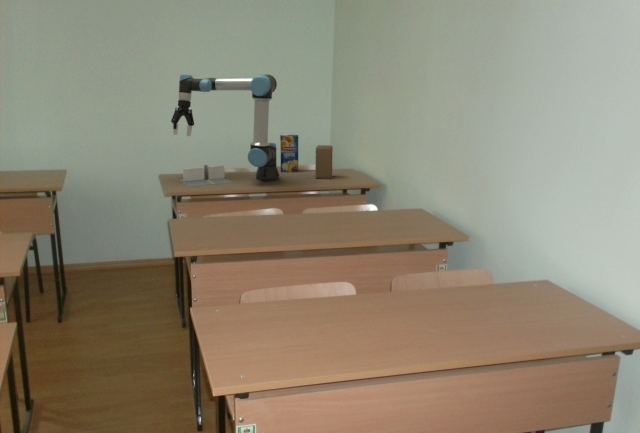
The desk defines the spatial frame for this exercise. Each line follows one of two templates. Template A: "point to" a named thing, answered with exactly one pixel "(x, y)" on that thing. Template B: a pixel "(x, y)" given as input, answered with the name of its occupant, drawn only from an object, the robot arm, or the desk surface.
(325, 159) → the wooden block
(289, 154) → the juice carton
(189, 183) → the card
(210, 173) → the fence
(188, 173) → the hinged panel
